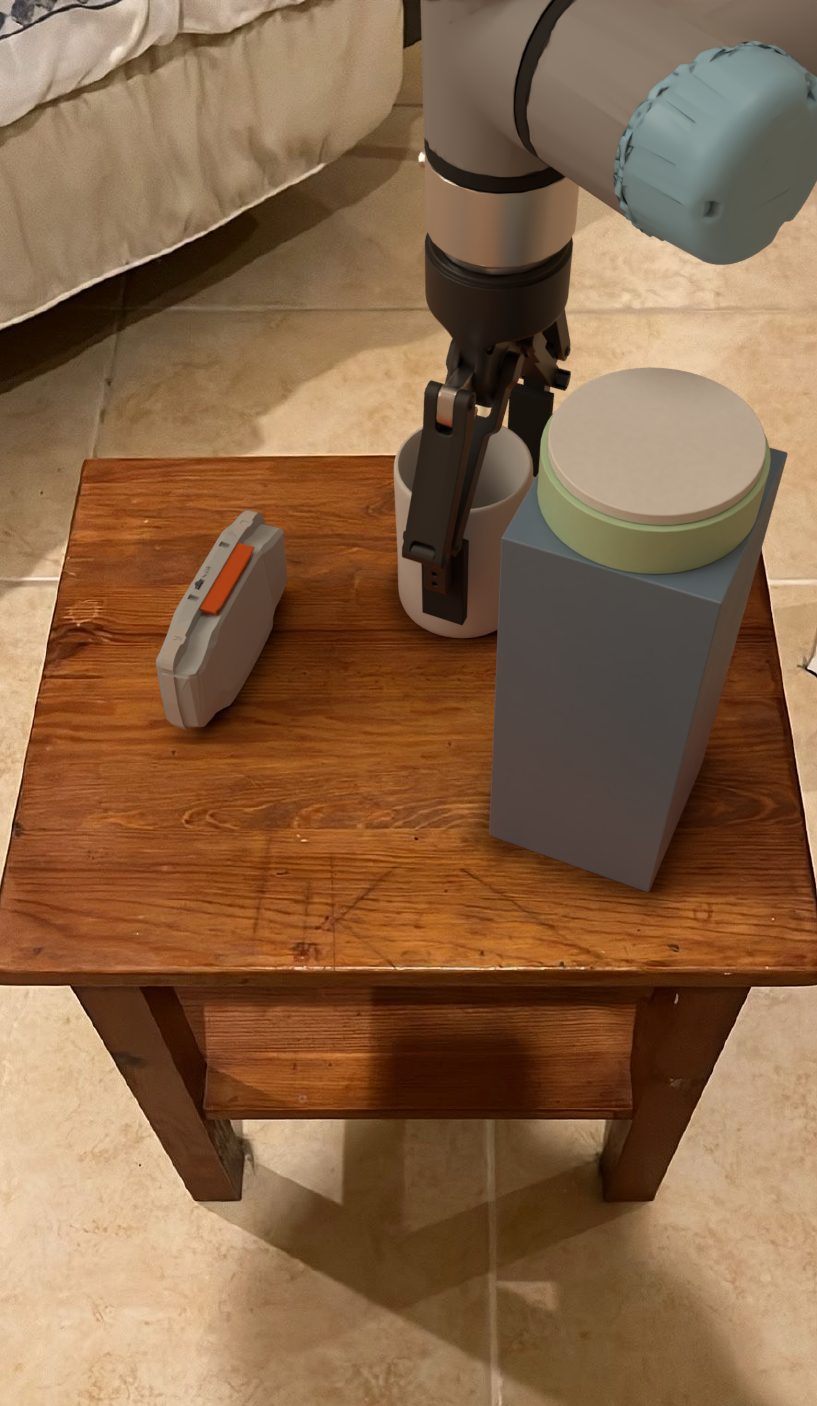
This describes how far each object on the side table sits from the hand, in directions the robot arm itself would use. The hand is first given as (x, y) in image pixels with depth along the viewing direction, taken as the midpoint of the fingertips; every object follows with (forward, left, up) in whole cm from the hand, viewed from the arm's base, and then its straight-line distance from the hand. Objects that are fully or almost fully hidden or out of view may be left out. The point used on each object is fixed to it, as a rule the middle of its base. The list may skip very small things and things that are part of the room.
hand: (486, 541), depth 84 cm
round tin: (-13, +13, +20) cm, 27 cm away
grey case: (+13, +12, -5) cm, 18 cm away
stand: (-13, +13, -4) cm, 19 cm away
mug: (0, 0, -5) cm, 5 cm away
